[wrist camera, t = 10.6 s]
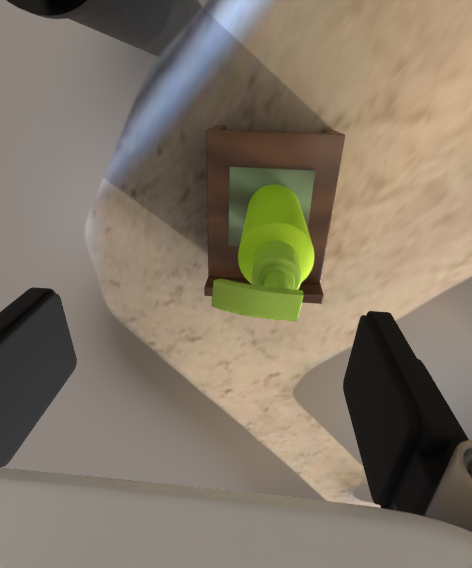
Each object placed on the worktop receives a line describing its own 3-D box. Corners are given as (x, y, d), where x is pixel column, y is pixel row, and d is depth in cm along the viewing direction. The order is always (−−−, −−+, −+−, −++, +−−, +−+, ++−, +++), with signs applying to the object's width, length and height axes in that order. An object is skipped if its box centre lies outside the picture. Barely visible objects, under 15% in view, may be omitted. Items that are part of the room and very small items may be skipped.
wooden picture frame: (216, 125, 40) (200, 131, 31) (333, 129, 39) (352, 137, 30) (216, 260, 49) (204, 295, 40) (312, 266, 48) (322, 303, 39)
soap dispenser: (241, 179, 36) (214, 252, 18) (305, 188, 36) (340, 269, 18) (235, 231, 39) (207, 336, 21) (294, 239, 38) (315, 352, 21)
